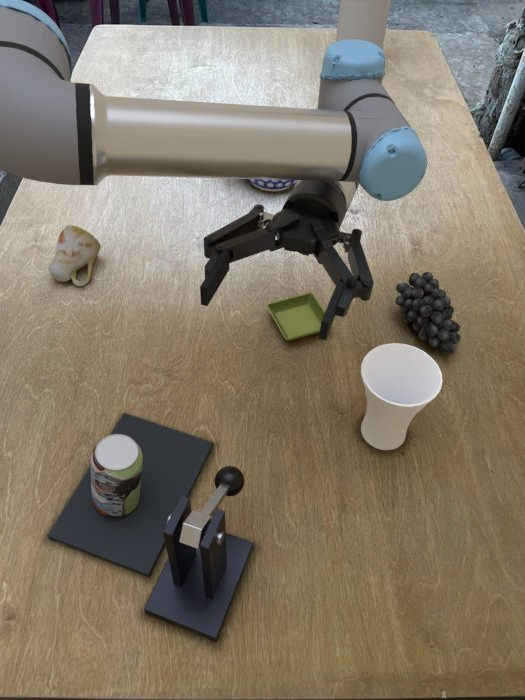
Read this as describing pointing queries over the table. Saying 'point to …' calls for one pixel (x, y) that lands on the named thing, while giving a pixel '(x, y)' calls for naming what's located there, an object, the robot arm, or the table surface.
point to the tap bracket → (198, 575)
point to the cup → (396, 391)
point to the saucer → (297, 315)
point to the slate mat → (154, 502)
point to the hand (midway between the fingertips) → (262, 313)
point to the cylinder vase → (363, 20)
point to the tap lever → (211, 505)
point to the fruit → (429, 311)
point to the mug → (74, 254)
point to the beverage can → (116, 475)
